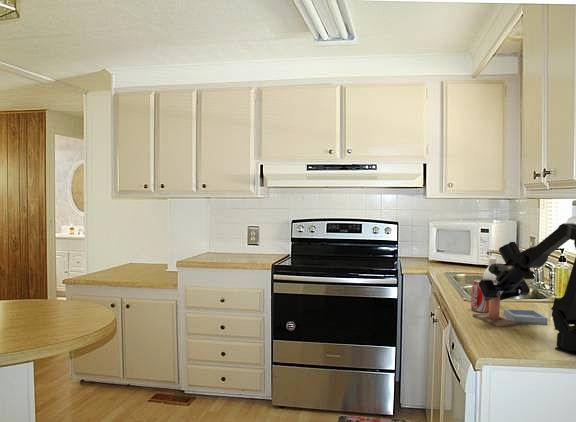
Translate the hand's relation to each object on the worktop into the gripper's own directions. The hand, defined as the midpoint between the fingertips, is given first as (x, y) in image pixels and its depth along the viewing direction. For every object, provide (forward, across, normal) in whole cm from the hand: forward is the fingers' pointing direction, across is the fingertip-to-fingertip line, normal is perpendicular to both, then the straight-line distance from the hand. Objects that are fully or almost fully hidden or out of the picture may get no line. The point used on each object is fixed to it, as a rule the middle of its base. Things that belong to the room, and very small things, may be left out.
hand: (492, 299), depth 193 cm
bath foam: (+19, -15, -8) cm, 25 cm away
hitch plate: (+4, 0, +6) cm, 8 cm away
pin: (+4, 0, +6) cm, 8 cm away
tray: (+4, -13, +7) cm, 15 cm away
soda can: (+14, -5, -4) cm, 16 cm away
